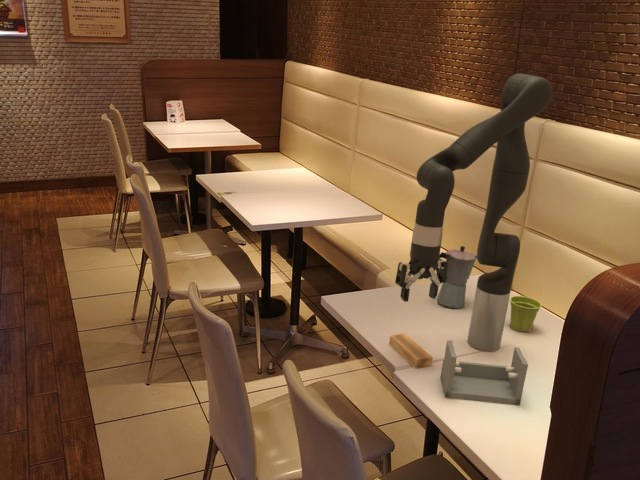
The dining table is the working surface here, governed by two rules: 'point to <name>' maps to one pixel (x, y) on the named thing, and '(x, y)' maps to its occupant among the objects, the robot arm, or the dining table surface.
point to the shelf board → (411, 350)
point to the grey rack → (483, 378)
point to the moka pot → (456, 277)
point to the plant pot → (523, 312)
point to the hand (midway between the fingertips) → (418, 299)
